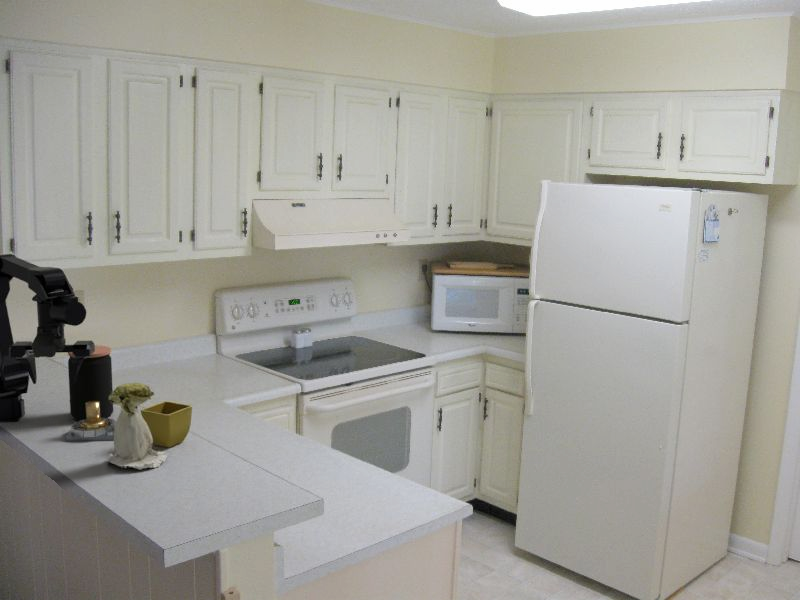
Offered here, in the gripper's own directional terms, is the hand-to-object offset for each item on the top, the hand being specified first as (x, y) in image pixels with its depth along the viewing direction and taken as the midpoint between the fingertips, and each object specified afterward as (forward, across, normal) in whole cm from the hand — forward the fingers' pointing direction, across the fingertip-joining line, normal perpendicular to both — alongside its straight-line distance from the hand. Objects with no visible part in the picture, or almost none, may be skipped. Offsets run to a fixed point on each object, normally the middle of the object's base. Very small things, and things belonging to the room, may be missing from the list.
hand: (54, 383), depth 209 cm
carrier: (+13, +13, 0) cm, 18 cm away
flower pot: (+13, +28, -9) cm, 32 cm away
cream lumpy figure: (+13, +23, -21) cm, 34 cm away
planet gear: (+12, +9, -1) cm, 15 cm away
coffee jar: (+13, +5, +14) cm, 20 cm away
